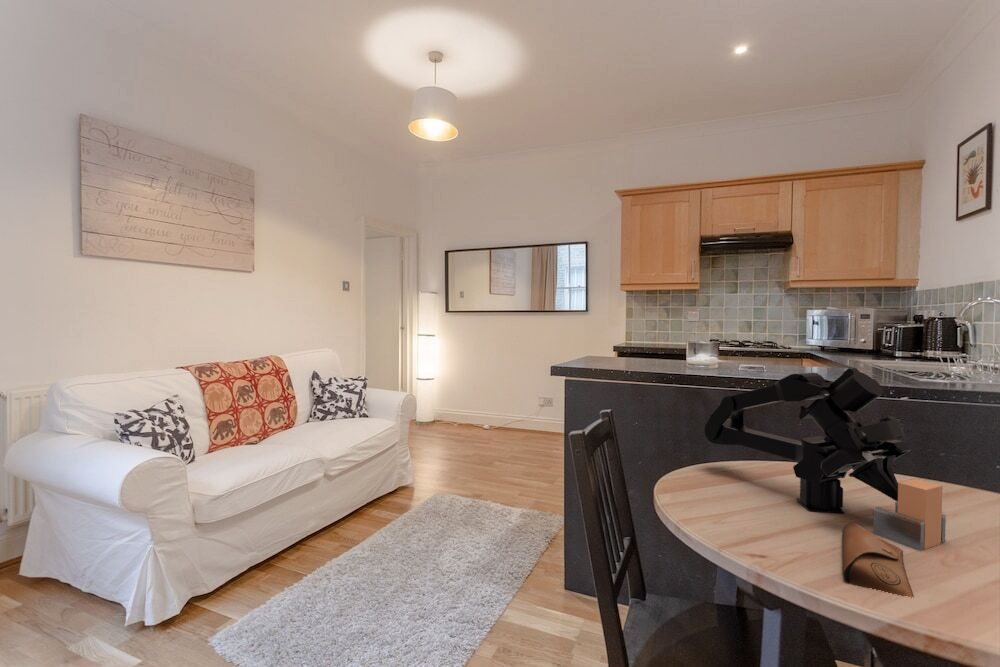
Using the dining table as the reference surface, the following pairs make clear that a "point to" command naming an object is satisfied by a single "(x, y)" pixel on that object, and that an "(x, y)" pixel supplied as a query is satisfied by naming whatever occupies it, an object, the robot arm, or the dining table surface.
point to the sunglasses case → (873, 562)
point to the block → (922, 507)
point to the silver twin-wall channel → (902, 528)
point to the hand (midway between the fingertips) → (901, 500)
